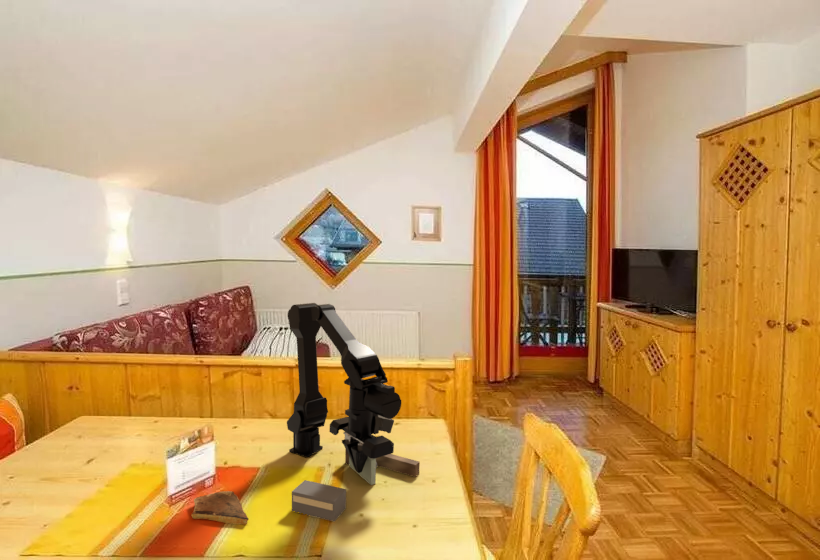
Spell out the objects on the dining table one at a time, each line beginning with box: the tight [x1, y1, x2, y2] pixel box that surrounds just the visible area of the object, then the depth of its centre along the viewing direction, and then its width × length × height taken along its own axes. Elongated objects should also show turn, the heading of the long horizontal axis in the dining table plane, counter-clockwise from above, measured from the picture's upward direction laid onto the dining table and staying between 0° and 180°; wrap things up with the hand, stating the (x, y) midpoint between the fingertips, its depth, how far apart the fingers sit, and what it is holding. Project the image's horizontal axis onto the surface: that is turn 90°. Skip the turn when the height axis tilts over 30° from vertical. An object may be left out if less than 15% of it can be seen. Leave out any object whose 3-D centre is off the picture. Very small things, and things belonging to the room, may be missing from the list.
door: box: [348, 457, 378, 486], centre depth 113 cm, size 11×2×6 cm, turn 35°
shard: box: [191, 490, 250, 525], centre depth 95 cm, size 13×9×2 cm
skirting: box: [375, 453, 420, 478], centre depth 118 cm, size 18×2×3 cm, turn 61°
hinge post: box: [344, 447, 349, 466], centre depth 119 cm, size 2×2×6 cm
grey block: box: [291, 479, 347, 523], centre depth 98 cm, size 10×5×4 cm, turn 71°
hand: (358, 471), depth 109 cm, fingers closed
